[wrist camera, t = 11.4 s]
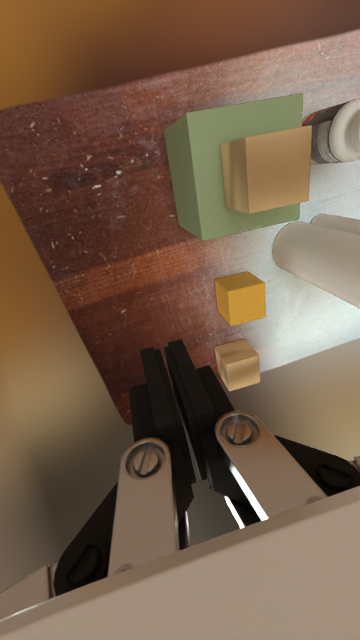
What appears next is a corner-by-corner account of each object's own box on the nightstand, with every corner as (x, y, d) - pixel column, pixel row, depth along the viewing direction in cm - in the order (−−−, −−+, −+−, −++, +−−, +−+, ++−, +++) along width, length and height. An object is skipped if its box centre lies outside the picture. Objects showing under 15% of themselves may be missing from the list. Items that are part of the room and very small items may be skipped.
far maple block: (246, 363, 48) (260, 382, 44) (217, 371, 47) (229, 391, 43) (244, 338, 46) (259, 355, 41) (214, 346, 45) (226, 364, 41)
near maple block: (276, 197, 27) (309, 201, 23) (225, 207, 26) (249, 214, 22) (275, 133, 25) (312, 124, 20) (219, 144, 24) (245, 136, 20)
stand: (253, 209, 37) (299, 219, 28) (178, 225, 36) (202, 241, 27) (250, 115, 32) (303, 92, 24) (163, 130, 31) (186, 112, 22)
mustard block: (249, 303, 43) (266, 317, 39) (217, 311, 42) (230, 326, 38) (248, 271, 41) (265, 282, 36) (214, 279, 40) (227, 291, 36)
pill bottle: (332, 106, 34) (408, 82, 25) (332, 157, 37) (402, 151, 28) (290, 119, 34) (353, 99, 25) (293, 170, 36) (352, 167, 28)
